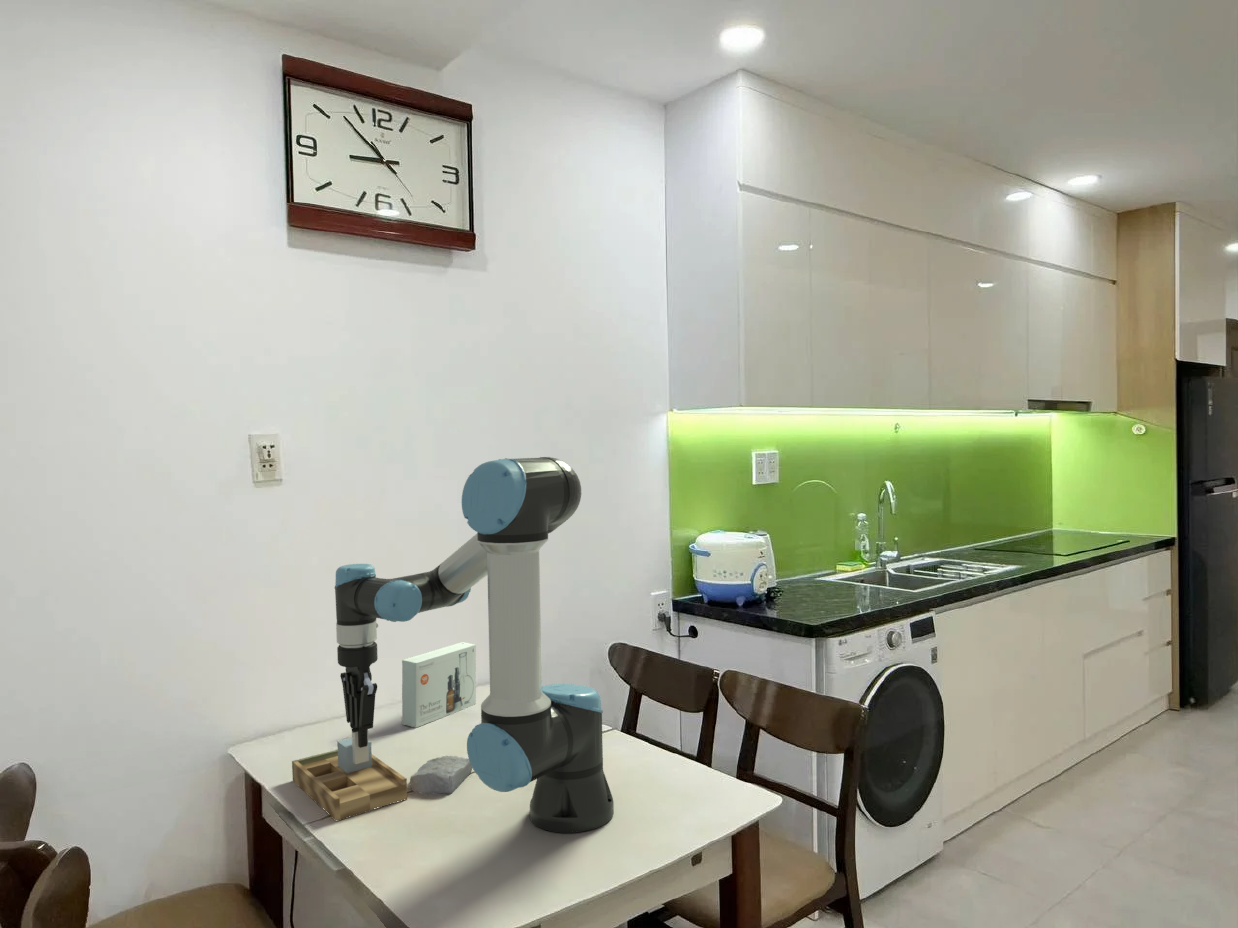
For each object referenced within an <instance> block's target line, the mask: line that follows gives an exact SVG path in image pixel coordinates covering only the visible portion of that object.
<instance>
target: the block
mask: <svg viewBox="0 0 1238 928" xmlns="http://www.w3.org/2000/svg"><path fill="white" fill-rule="evenodd" d="M368 747H369V761H366V762H362V763H359V764H355V763H353V753H352V737H349V738H344V739H341V740H337V750H338V766H339V767H340V768H342V769H343V770H344V771H345V772H347V773H350V772H354V771H357V770H361V769H365V768H368V767H372V755H373V754H372V741H370V740H369V739H368Z"/></svg>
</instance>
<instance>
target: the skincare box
mask: <svg viewBox="0 0 1238 928" xmlns="http://www.w3.org/2000/svg"><path fill="white" fill-rule="evenodd" d="M401 665H402V668H401V670H402V672H401V673H402V680H401V681H402V684H401V686H402V687H401V701H402V703H401V704H402V706H401V707H402V708H401V709H402V711H401V712H402V715H401V724H402V725H404V726H408V727H412V728H415V729H416V728H419V727H421V726H423V725H426V724H429V723H432V722H434V721H437V720H440V719H441V718H445V717H447V716H449V715H452V714H455V713H457V711H458V712H460V711H462V709H463V710H465V709H468V708H470V707H472V706H475V705H476V704H477V644H474V643H471V642H465V641H461V642H457V643H455V644H450V645H447V646H444V647H441V648H438V649H434V650H431V651H428V652H425V653H420V654H417V655H414V656H410V657H407V658H404V659H402V660H401ZM464 708H465V709H464Z"/></svg>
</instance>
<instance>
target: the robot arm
mask: <svg viewBox="0 0 1238 928" xmlns="http://www.w3.org/2000/svg"><path fill="white" fill-rule="evenodd" d="M581 499H582V486H581V481H580V479H579V476H578V475H577V473H576V472H575V469H574V468H573V467H571V466H570V465H569V464H568V463H566V461H565V462H564V461H563V460H561V459H559V458H554V457H550V456H542V457H541V456H540V457H527V458H526V457H525V458H524V457H523V458H521V457H519V458H506V457H505V458H499V459H495V460H490V461H486V462H485V461H484V463H481V464H479V465H478V466H477V467H475V469H473V471H472V473H470V475H468V477H467V479H466V480H465V482H464V485H463V489H462V494H461V510H462V514H463V518H464V519H466V520H467V522H466V523H467V525H468V526H469V527H470V528H471V529H472V530H473V531H475V532H477V533H475V535H473V536H472V537H471V538H469V539H468V540H467V541H466V542H465V543H464V544H463V545H462V546H460V547H458V549H456V550H455V551H454V552H453V553H452V554H451V555H449V556H448V557H447V558H446V559H445V560H443V561H442V562H441V563H440V564H439V565H437V566H436V567H435V568H434V569H432V570H430V571H425V572H420V573H415V574H411V575H406V576H399V577H393V578H384V577H383V578H380V577H377V574H376V570H375V569H376V568H375V567H374V566H373V564H369V563H351V564H350V563H349V564H344V565H340V566H339V567H337V569H336V570H335V583H334V584H335V585H334V592H335V593H334V594H335V597H334V598H335V612H336V613H335V614H336V616H335V617H336V623H335V628H336V629H335V630H336V633H335V634H336V643H337V644H338V646H337V648H336V650H337V651H336V652H337V655H336V656H337V664H338V665H339V666H341V667H343V668H344V667H345V672H341V673H340V680H341V684H342V690H343V691H342V693H343V700H344V708H345V718H346V722H347V723H348V724H349V726H350V729H351V738H352V753H353V763H355V764H359V763H362V762H366V761H369V747H368V740H369V730H370V729H373V728H374V718H375V706H376V705H375V704H376V694H377V690H378V684H377V683H376V682H374V683H372V676H373V675H372V672H371V668H370V667H371V666H372V665H373V664H375V663H376V662H377V661H378V659H379V658H378V643H377V642H375V641H376V640H377V639H378V637H377V628H379V623H377V619H381V620H386V621H390V622H393V623H396V622H409V621H411V620H412V619H413V618H414V617H415V616H417V615H418V614H421V613H423V612H428V611H432V610H437V609H442V608H447V607H448V608H449V607H452V606H455V605H457V604H460V603H463V602H464V601H466V600H467V599H468V597H469V595H470V593H471V591H472V587H474V586H475V585H476V584H478V582H480V581H481V580H483V579H485V578H486V577H487V609H488V610H487V611H488V616H487V617H488V618H487V619H488V657H489V658H488V660H489V695H488V696H486V698H485V699H484V700H483V701H482V702H481V704H480V719H481V720H480V723H479V724H475V726H474V727H473V728H472V730H471V732H470V733H469V734H468V736H467V738H466V739H467V740H466V751H467V752H466V753H467V756H468V758H469V761H470V764H471V766H472V770H473V772H474V773H475V775H477V776H478V779H479V780H480V781H481V782H482V783H483V784H484V785H485V786H487V787H488V788H490V789H491V790H494V791H496V792H499V793H508V792H511V791H512V792H513V791H514V790H516V789H519V788H524V787H527V786H528V785H529V784H530V783H532V782H534V781H535V780H536V782H535V786H534V789H533V791H532V792H533V793H532V797H531V799H530V802H529V818H530V819H529V820H531V822H532V824H534V825H535V826H537V827H538V828H540V829H542V830H544V831H545V830H546V831H548V832H554V833H563V834H565V833H566V834H569V833H570V834H571V833H573V834H574V833H581V832H587V831H591V830H594V829H598V828H599V827H602V826H604V825H606V824H607V823H608V822H610V821H611V819H612V818H613V817H614V811H615V810H614V809H615V808H614V807H615V806H614V804H615V803H614V796H613V795H612V791H611V788H610V786H609V783H608V780H607V776H606V774H605V772H604V756H603V752H604V751H603V712H604V711H603V708H602V698H601V695H600V693H599V692H598V691H597V690H596V689H595V688H593V687H591V686H587V685H580V684H572V683H571V684H570V683H552V684H545V685H542V683H543V682H542V681H543V680H542V678H543V677H542V637H541V636H542V635H541V634H542V632H541V631H542V627H541V584H540V582H541V581H540V580H541V578H540V577H541V576H540V574H541V572H540V550H541V548H542V547H543V546H544V545H545V544H546V543H547V542H548V541H549V534H551V533H553V532H554V531H555V530H556V529H558V528H559V527H560V526H562V525H563V524H564V523H565V522H567V521H568V520H569V519H570V518H571V517H573V515H574V514H575V512H576V511H577V510H578V508H579V505H580V502H581ZM468 758H467V759H468Z"/></svg>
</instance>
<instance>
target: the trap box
mask: <svg viewBox="0 0 1238 928" xmlns="http://www.w3.org/2000/svg"><path fill="white" fill-rule="evenodd" d="M291 768H292V771H291V772H292V781H293V782H294V784H296V785H297V787H299V788H300V789H301V790H302V791H303V792H305V793H306V795H307V796H309V798H310V799H312V800H313V799H314V800H315V801H316V802H317V803H318V804H319V805H320V806H321V807H322V808H324V809H325V810H326V811H327V812H328V813H329V814H330V815H331V816H332V817H333V818H334V819H335V820H339V821H341V820H340V819H342V820H344V819H343V818H345V819H347V818H346V817H348V818H350V817H349V816H352V817H354V816H353V815H355V816H357V815H356V814H358V815H360V814H359V813H361V814H364V813H363V812H365V811H368V812H370V811H369V810H371V811H373V810H372V809H374V808H377V807H381V806H384V805H387V804H390V803H393V802H397V801H401V800H404V799H407V800H408V781H407V780H408V779H407V777H405V776H404V775H402V774H401V773H399V772H398V771H396V770H395V769H393V768H392V767H391V766H389V765H388V764H387V763H385V762H384V761H382V760H381V759H379V758H378V757H376V755H374V754H372V767H368V768H365V769H361V770H357V771H354V772H350V773H347V772H345V771H344V770H343V769H342V768H340V767H339V766H338V749H334V750H330V751H327V752H323V753H320V754H319V753H318V754H315V755H311V756H308V757H307V756H306V757H303V758H299V759H295V760H292V761H291ZM314 800H313V801H314ZM315 801H314V802H315ZM404 801H405V800H404ZM316 802H315V803H316ZM401 802H402V801H401ZM317 803H316V804H317ZM397 803H398V802H397ZM318 804H317V805H318ZM319 805H318V806H319ZM320 806H319V807H320ZM321 807H320V808H321ZM384 807H385V806H384ZM322 808H321V809H322ZM381 808H382V807H381ZM374 810H375V809H374ZM326 811H325V812H326ZM327 812H326V813H327ZM328 813H327V814H328ZM365 813H366V812H365ZM329 814H328V815H329ZM330 815H329V816H330ZM331 816H330V817H331ZM332 817H331V818H332ZM333 818H332V819H333ZM334 819H333V820H334ZM335 820H334V821H335Z"/></svg>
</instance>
